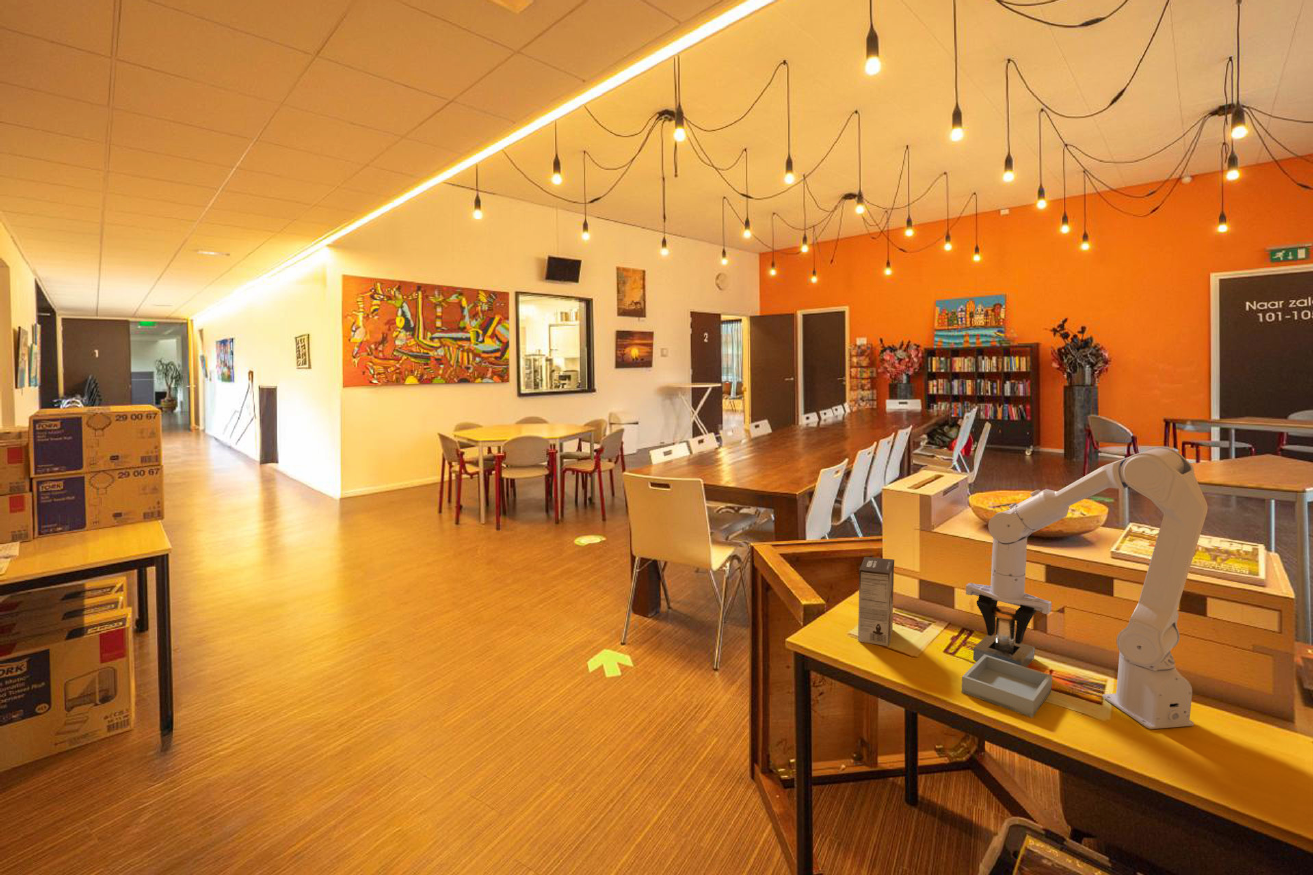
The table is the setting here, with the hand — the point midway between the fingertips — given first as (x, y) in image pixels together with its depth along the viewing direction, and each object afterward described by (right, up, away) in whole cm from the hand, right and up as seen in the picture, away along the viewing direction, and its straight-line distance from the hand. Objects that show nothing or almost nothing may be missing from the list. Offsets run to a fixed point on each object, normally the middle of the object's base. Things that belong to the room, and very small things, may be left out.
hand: (1004, 637), depth 120 cm
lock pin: (0, -3, 0) cm, 3 cm away
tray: (-6, -6, -11) cm, 14 cm away
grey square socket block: (0, -4, +1) cm, 4 cm away
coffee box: (-21, -4, +12) cm, 25 cm away
